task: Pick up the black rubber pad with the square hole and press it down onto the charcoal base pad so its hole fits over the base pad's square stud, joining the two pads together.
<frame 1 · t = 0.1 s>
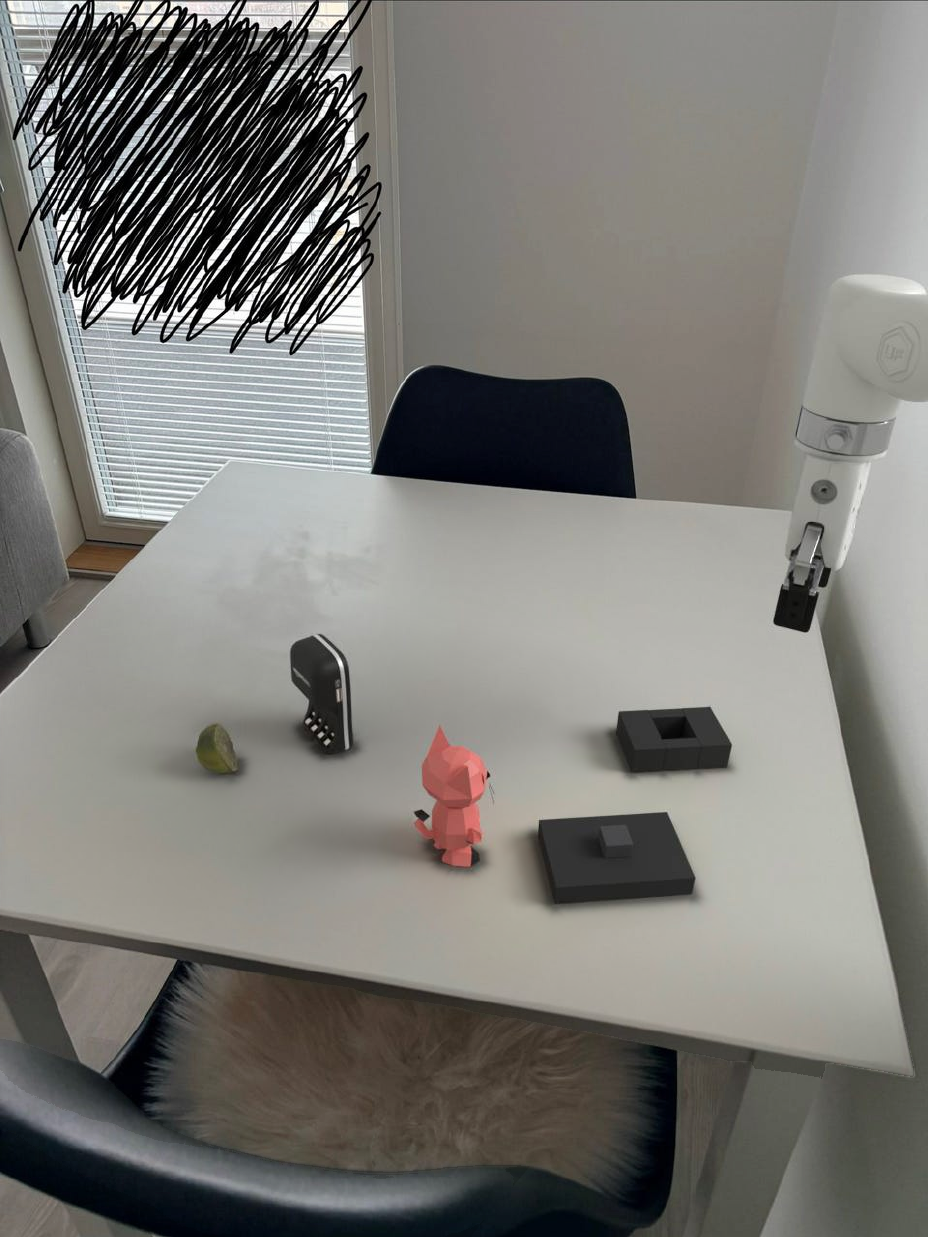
hand: (800, 604, 83), 17 cm above the table, tool pointing down, fingers open, 9 cm apart
top pad: (670, 750, 91), on the table
lime: (221, 770, 88), on the table
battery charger: (323, 739, 92), on the table
base pad: (612, 864, 78), on the table
cat figurine: (451, 850, 79), on the table
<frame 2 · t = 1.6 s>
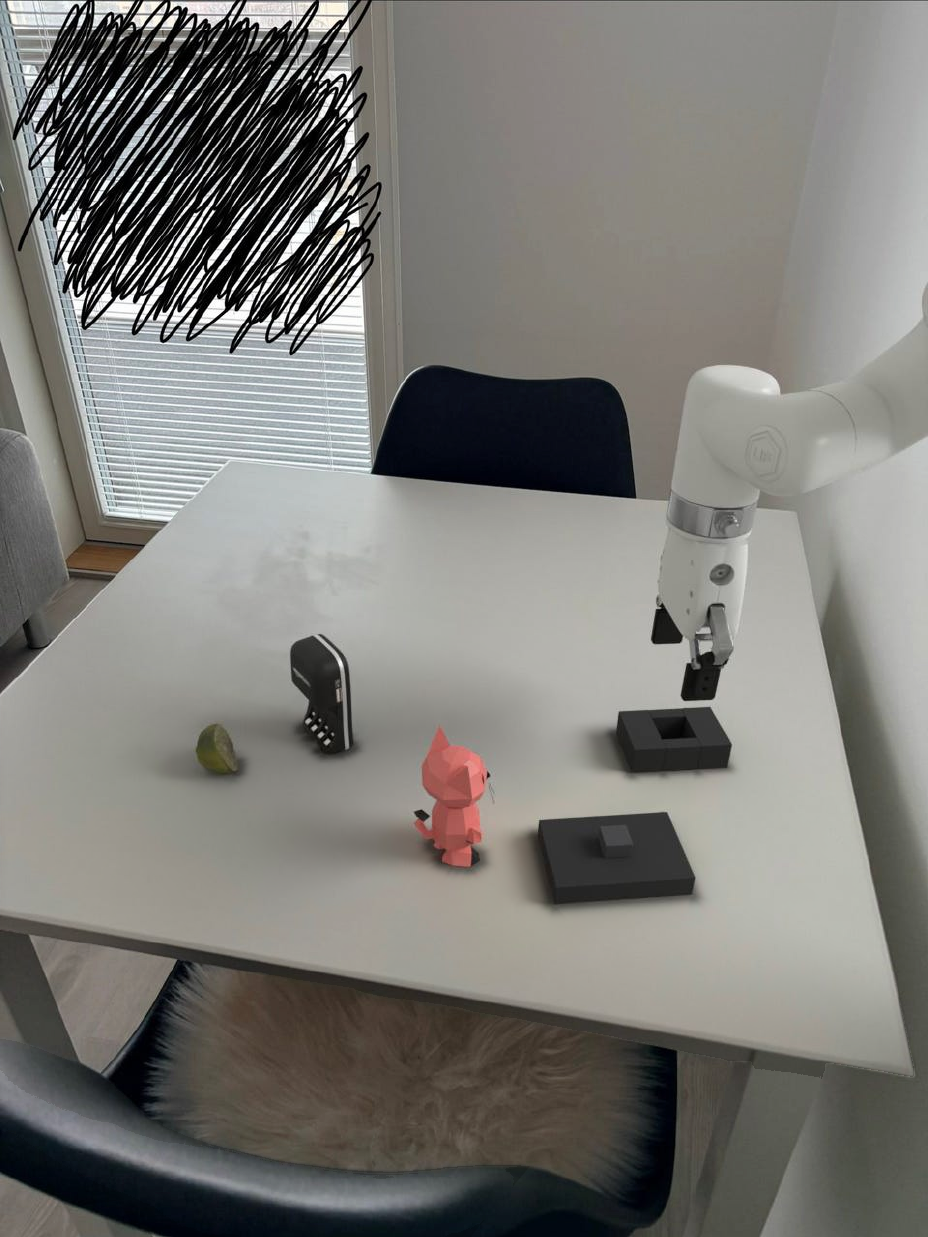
hand: (680, 669, 87), 10 cm above the table, tool pointing down, fingers open, 9 cm apart
nothing on the table moved.
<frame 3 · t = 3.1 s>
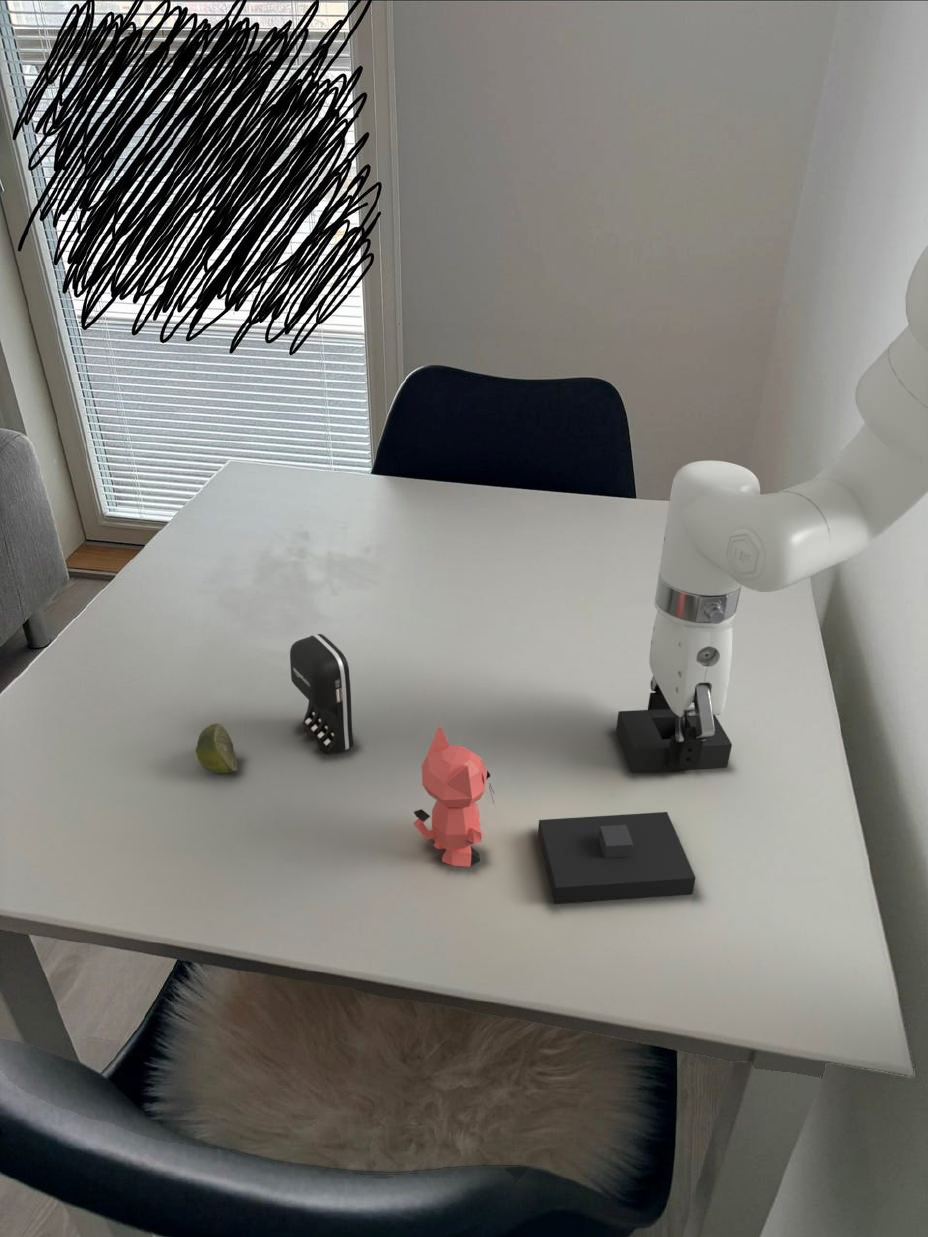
hand: (671, 743, 91), 1 cm above the table, tool pointing down, fingers closed on top pad, 6 cm apart
top pad: (670, 750, 91), on the table, touching gripper
everything else where it was.
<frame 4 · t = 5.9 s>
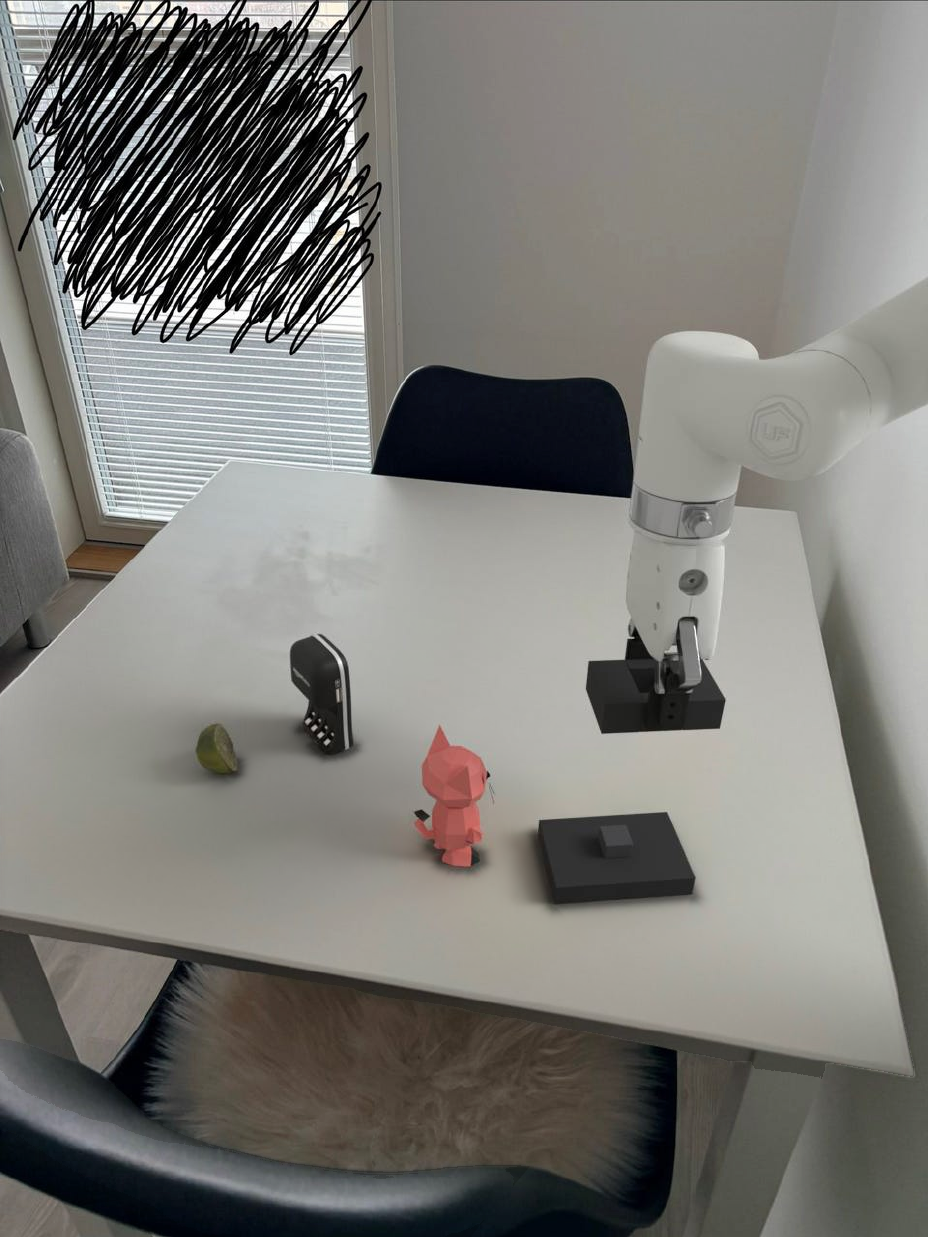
hand: (652, 700, 74), 14 cm above the table, tool pointing down, fingers closed on top pad, 6 cm apart
top pad: (650, 708, 75), point 14 cm above the table, touching gripper
everything else where it was.
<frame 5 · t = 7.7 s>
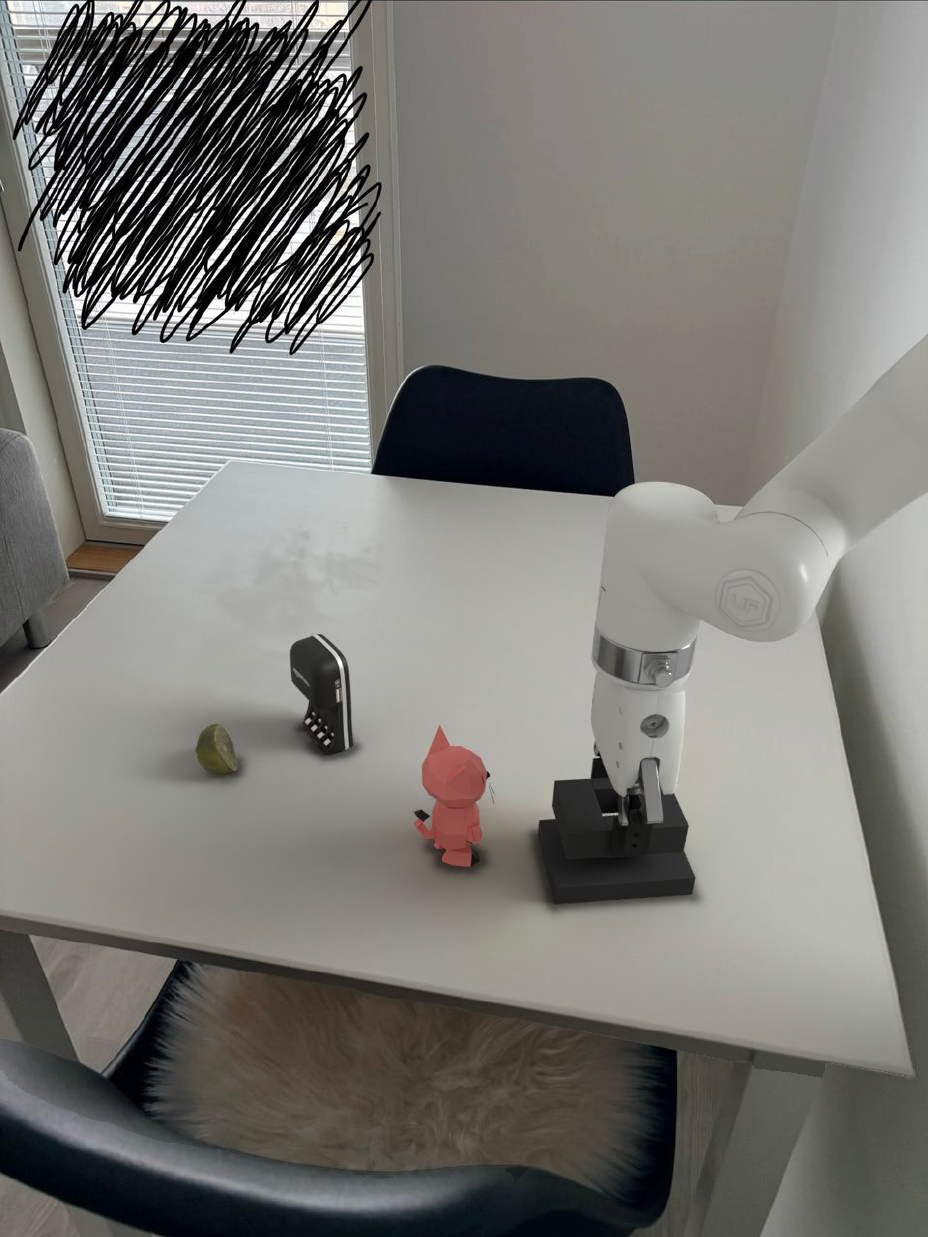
hand: (617, 821, 75), 5 cm above the table, tool pointing down, fingers closed on top pad, 6 cm apart
top pad: (615, 828, 75), point 4 cm above the table, touching gripper
everything else where it was.
when the fingers open (3 cm above the table, at t = 9.0 s): top pad stays where it is, resting on base pad.
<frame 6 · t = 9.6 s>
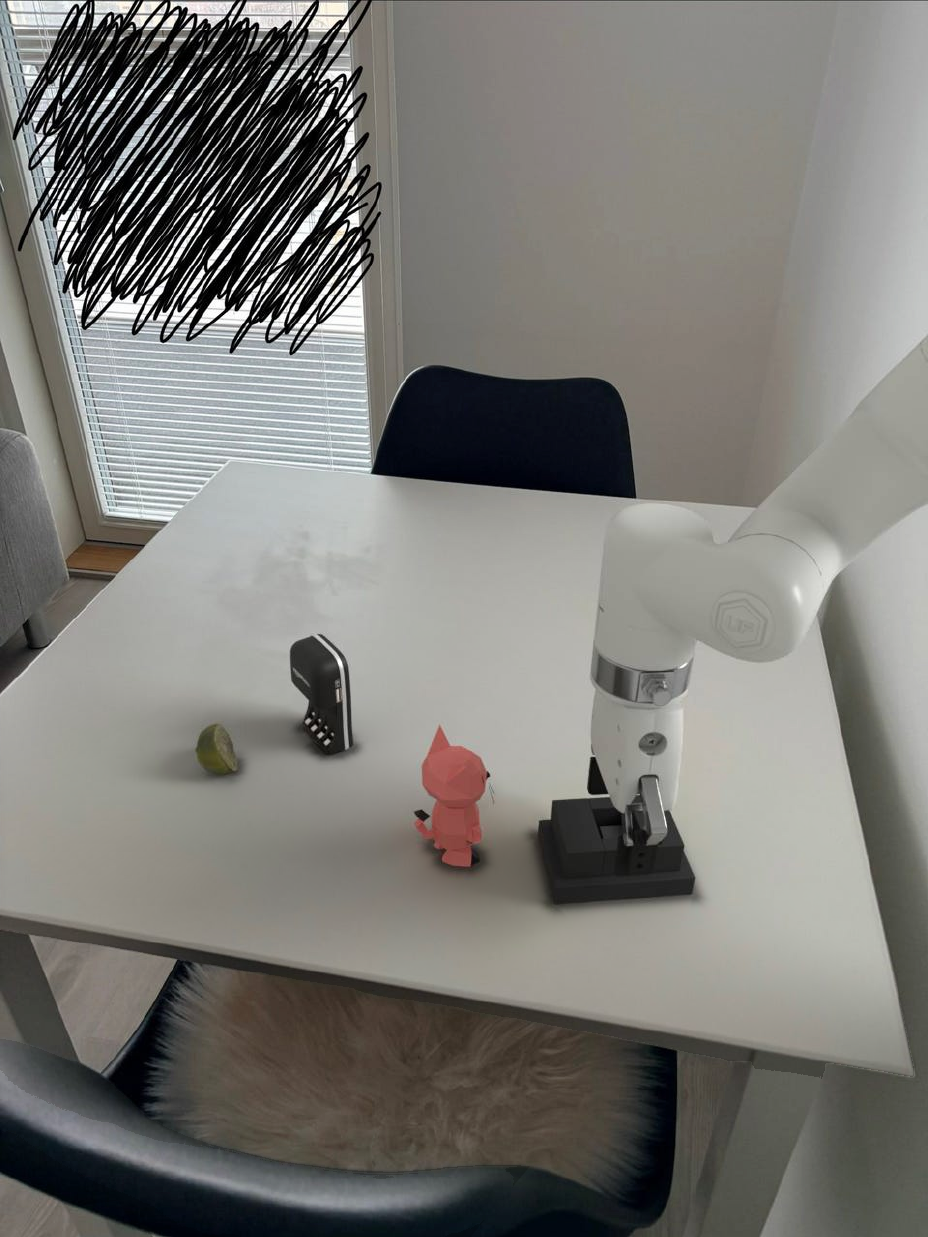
hand: (618, 830, 75), 4 cm above the table, tool pointing down, fingers open, 9 cm apart
top pad: (613, 847, 77), point 2 cm above the table, touching base pad
base pad: (612, 864, 78), on the table, touching top pad
everything else where it was.
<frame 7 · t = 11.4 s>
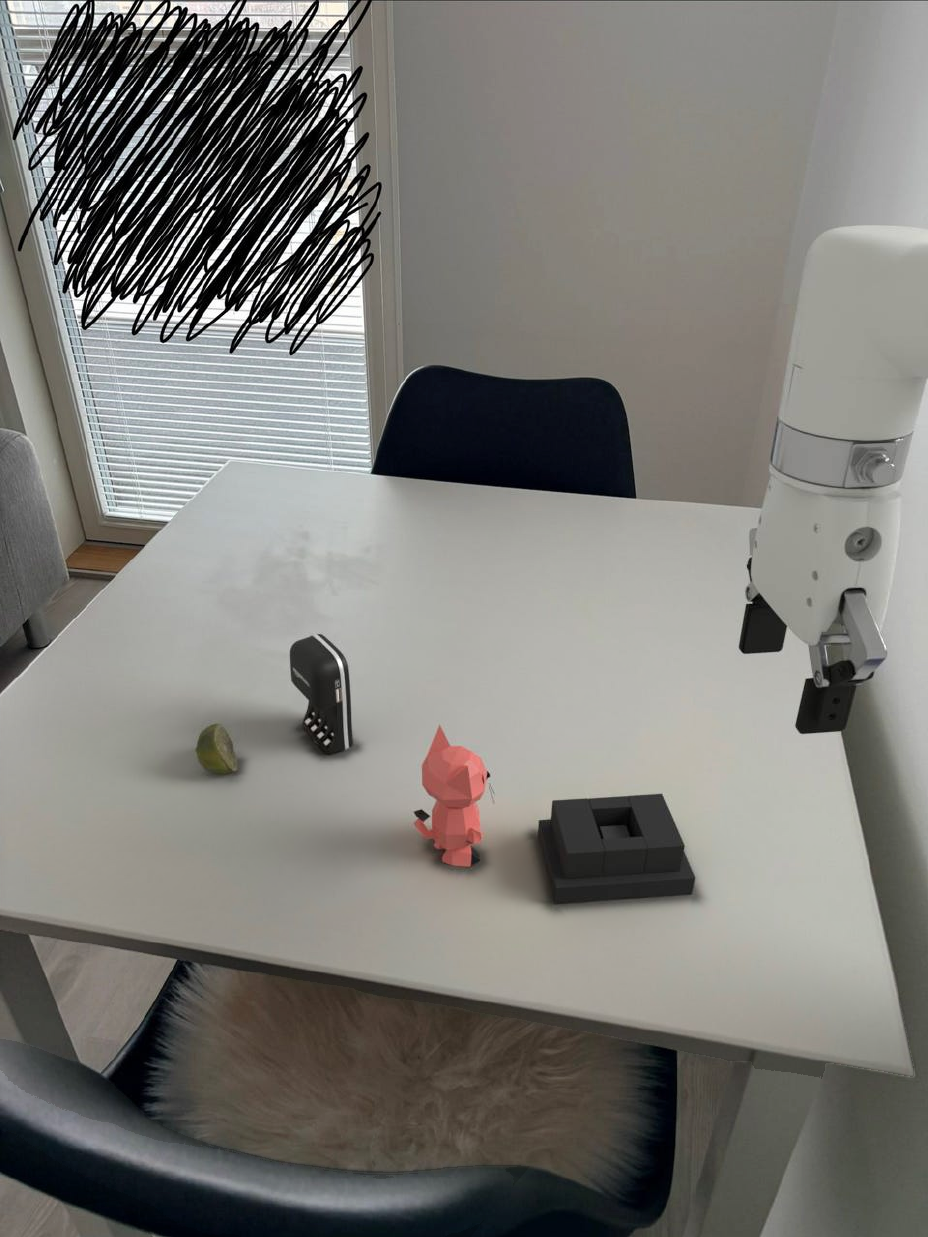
hand: (787, 687, 61), 23 cm above the table, tool pointing down, fingers open, 9 cm apart
nothing on the table moved.
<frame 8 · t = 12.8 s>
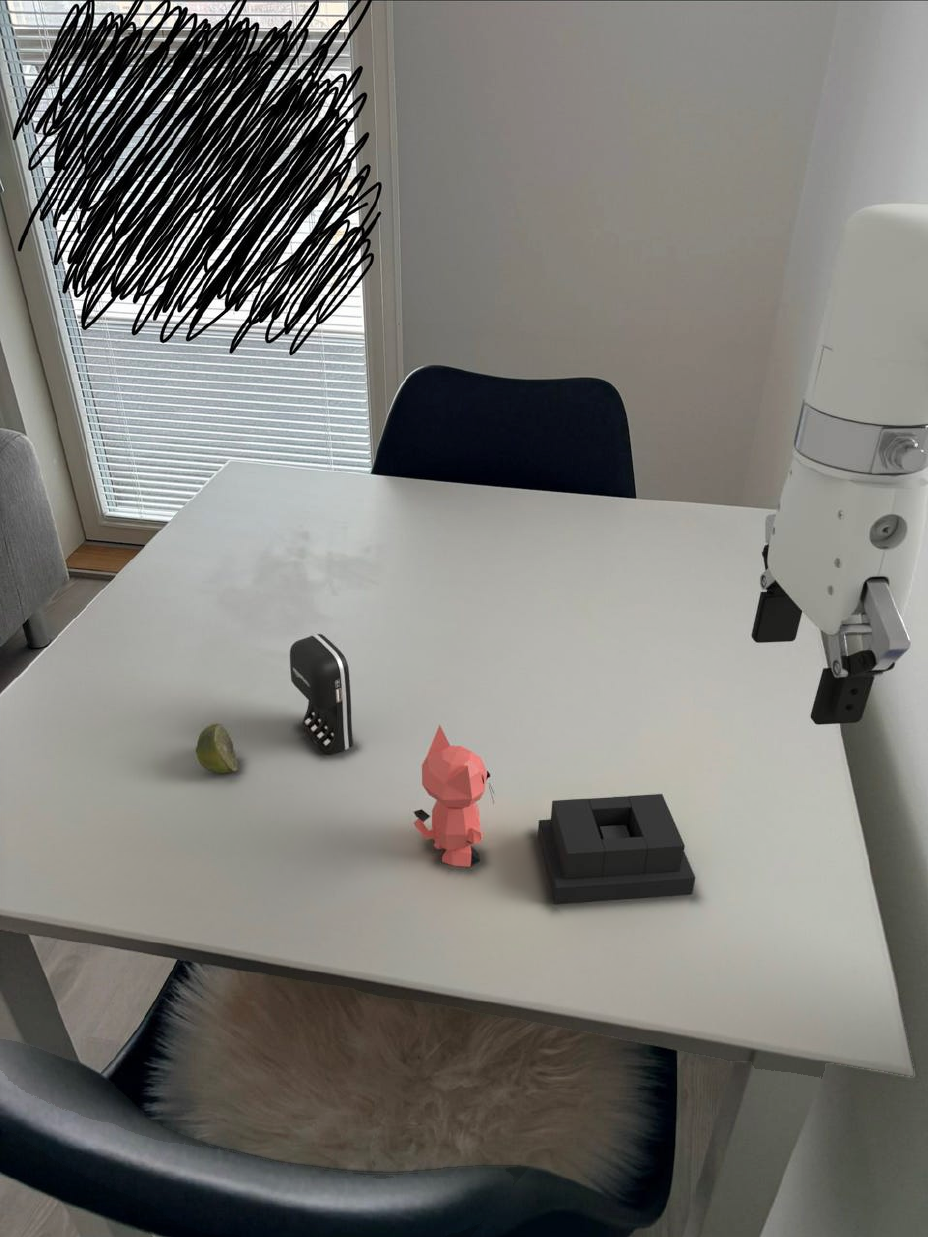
hand: (801, 677, 60), 24 cm above the table, tool pointing down, fingers open, 9 cm apart
nothing on the table moved.
at the end: top pad 0.1 cm off-centre on the base pad, point 2.0 cm above the base pad's base; top pad tilted 0°; top pad touching base pad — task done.
